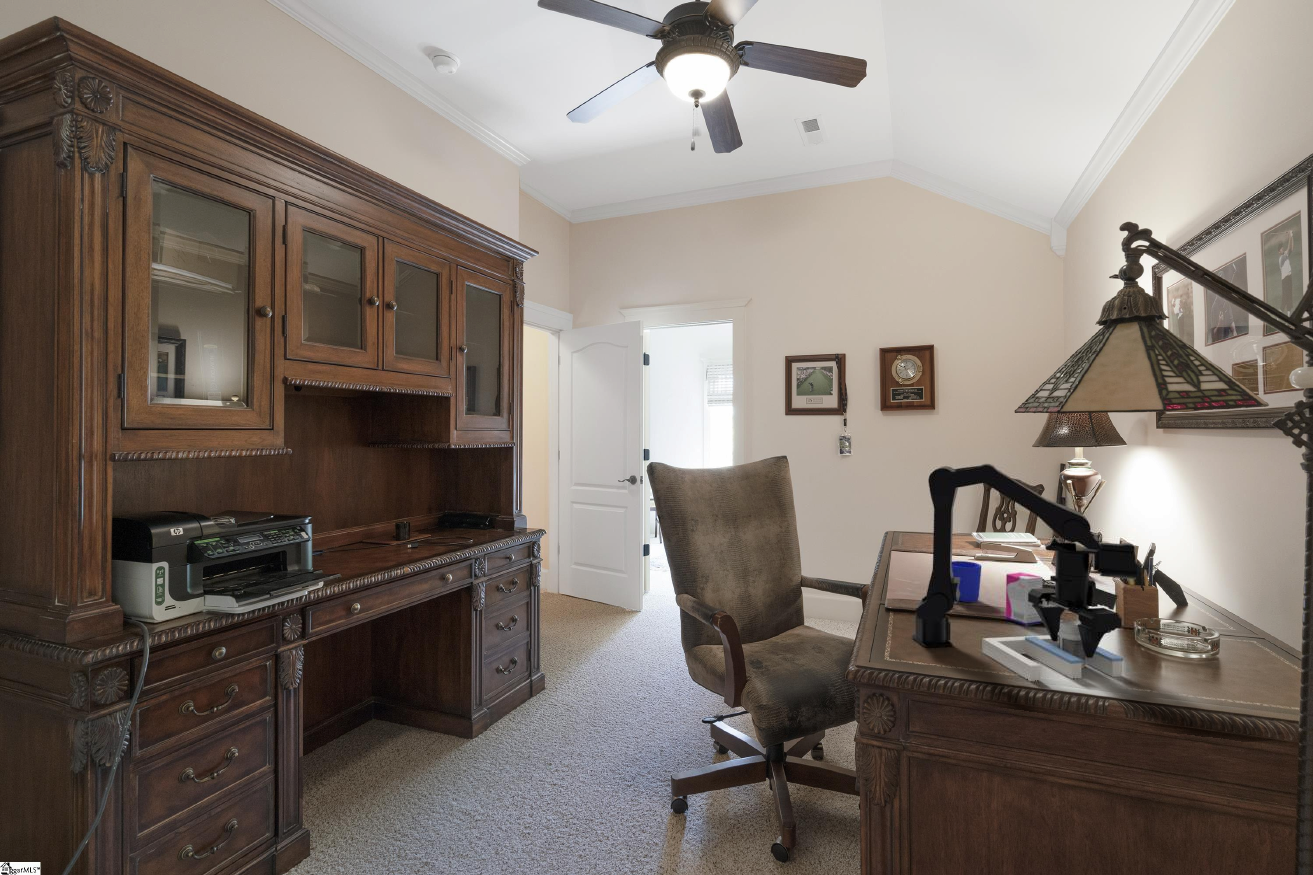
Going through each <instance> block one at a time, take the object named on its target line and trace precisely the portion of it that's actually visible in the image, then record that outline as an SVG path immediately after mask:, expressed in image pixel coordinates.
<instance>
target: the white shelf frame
mask: <svg viewBox="0 0 1313 875" xmlns="http://www.w3.org/2000/svg"><path fill="white" fill-rule="evenodd" d="M981 642H982V646H981V647H982V648H981V650H982V652H981V653H982V654H984V655H986V656H988V657H989V658H991V659H993V660H994V661H996V662H998V663H999V664H1001V665H1003V666H1005V667H1006V668H1008V669H1010V670H1011V671H1012V672H1015V673H1016V674H1017V675H1019V676H1021V677H1022V678H1024V679H1026V680H1027V679H1028V680H1027V681H1029V682H1040V681H1041V665H1040V664H1039V663H1037V662H1035V661H1033V660H1031V659H1030V658H1028V657H1026V656H1024V655H1027V656H1029V657H1031V658H1033V659H1034V660H1036V661H1038V662H1040V663H1042V664H1044V665H1045V666H1048V667H1050V668H1051V669H1053V670H1054V671H1056V672H1058V673H1060V674H1062V675H1063V676H1066V677H1067V678H1069V679H1071V680H1077V679H1076V678H1081V679H1082V668H1081V663H1082V660H1081V659H1079V658H1077V657H1075V656H1073V655H1071V654H1069V653H1067V652H1065V651H1063V650H1061V649H1059V648H1058V641H1052V639H1051V637H1050V635H1049V634H1048V635H1047V634H1046V635H1027V636H1026V635H1025V636H1009V637H1008V636H1007V637H1005V636H1004V637H987V638H986V637H985V638H983V637H982V640H981ZM1123 662H1124V657H1122V656H1119V654H1116V653H1113V652H1111V651H1109V650H1107V649H1104V648H1102V647H1100V646H1098V647H1097V649H1096V651H1095V653H1094V655H1093V657H1092V658H1087V657H1086V655H1085V665H1088V666H1090V667H1093V668H1094V669H1096V670H1098V671H1100V672H1102V673H1104V674H1106V675H1109V677H1110V676H1111V677H1113V678H1114V677H1115V678H1116V677H1123ZM1073 678H1075V679H1073ZM1035 680H1036V681H1035ZM1037 680H1039V681H1037Z"/></svg>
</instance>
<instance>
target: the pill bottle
mask: <svg viewBox="0 0 1313 875" xmlns="http://www.w3.org/2000/svg"><path fill="white" fill-rule="evenodd" d="M1078 624H1081V623H1079V622H1077V621H1076V622H1075V621H1072V620H1071V621H1070V620H1067V621H1066V620H1062V621H1060V631H1059V632H1058V648H1059V649H1061V650H1063V651H1065V652H1067V653H1069V654H1071V655H1073V656H1075V657H1077V658H1079V659H1081V660H1082V663H1081V669H1084V668H1085V667H1086V663H1085V652H1084V649H1083V645H1082V641H1081V637H1080V633H1079V629H1078Z"/></svg>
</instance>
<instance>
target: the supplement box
mask: <svg viewBox="0 0 1313 875" xmlns="http://www.w3.org/2000/svg"><path fill="white" fill-rule="evenodd" d="M1005 577H1006V581H1005V590H1006V591H1005V596H1006V597H1005V620H1007V621H1011V622H1012V623H1013V622H1014V623H1017V624H1019V625H1023V626H1025V627H1026V626H1032V625H1037V624H1043V622H1042V620H1041V618H1040V616H1039V615H1038V613H1037V611H1036V610H1035V608H1034V607H1032V604H1033V603H1031V602H1028V593H1029V592H1030V591H1031V589H1041V588H1043V576H1039V575H1035V574H1030V573H1026V572H1014V573H1006V575H1005Z"/></svg>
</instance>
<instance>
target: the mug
mask: <svg viewBox="0 0 1313 875" xmlns="http://www.w3.org/2000/svg"><path fill="white" fill-rule="evenodd" d="M952 572H953V576H954V578H955V577H960V583H959V592H960V597H959V599H958V602H960V601H962V602H961V603H967V602H971V603H976V602H977V601H978V600H979V597H980V587H981V577H982V576H981V575H982V565H981V564H979V563H977V562H973V561H972V562H971V561H963V560H954V561H953V560H952Z"/></svg>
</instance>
